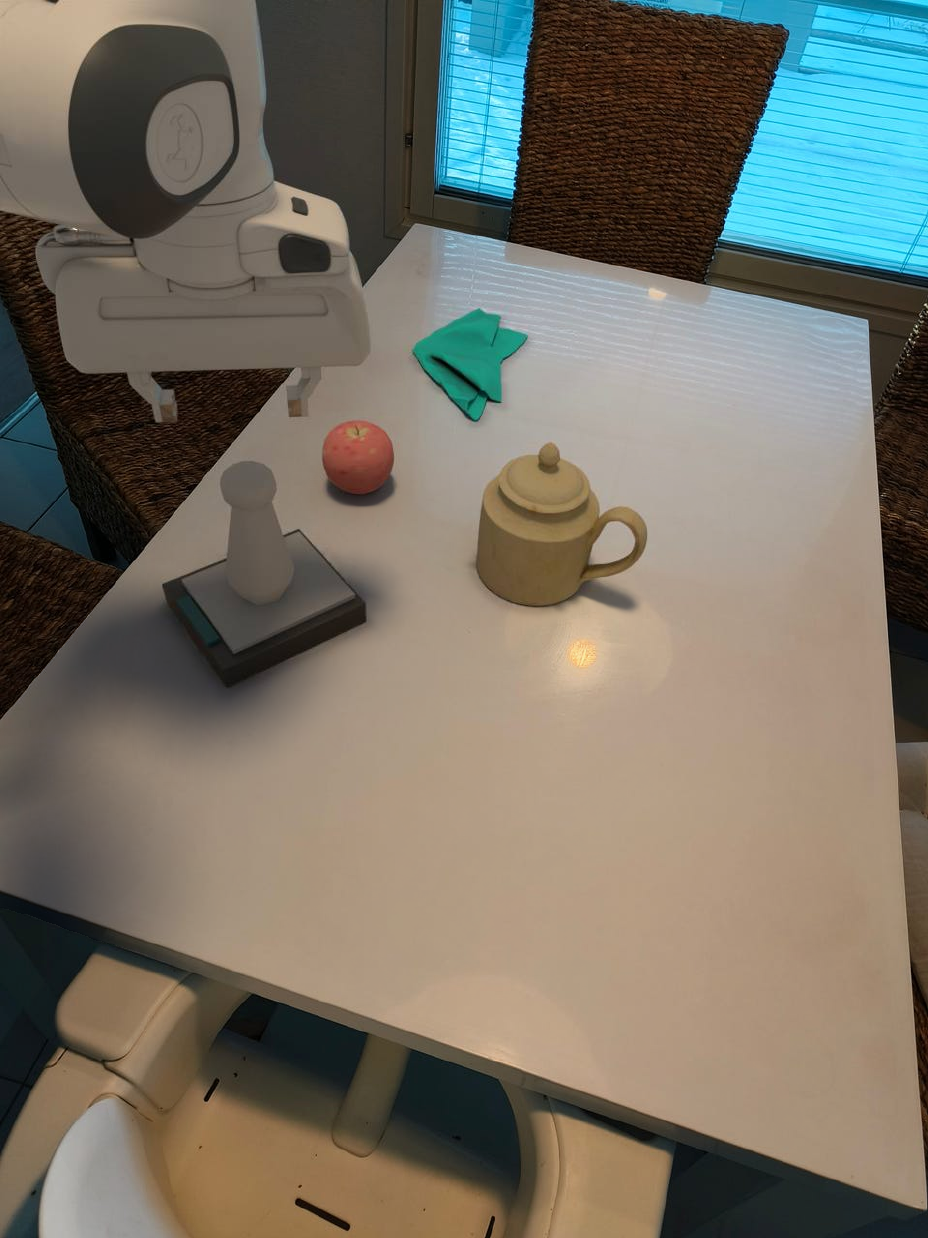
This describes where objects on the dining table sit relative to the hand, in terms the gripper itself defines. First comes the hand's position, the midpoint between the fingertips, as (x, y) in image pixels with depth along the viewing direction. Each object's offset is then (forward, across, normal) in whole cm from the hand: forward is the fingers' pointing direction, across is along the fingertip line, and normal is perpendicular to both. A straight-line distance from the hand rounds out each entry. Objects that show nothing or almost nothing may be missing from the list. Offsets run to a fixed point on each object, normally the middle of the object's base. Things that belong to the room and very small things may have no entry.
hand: (233, 415), depth 63 cm
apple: (+21, +10, +17) cm, 29 cm away
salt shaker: (+18, 0, 0) cm, 18 cm away
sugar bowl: (+21, +28, +3) cm, 35 cm away
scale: (+21, 0, 0) cm, 21 cm away
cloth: (+21, +27, +42) cm, 54 cm away
